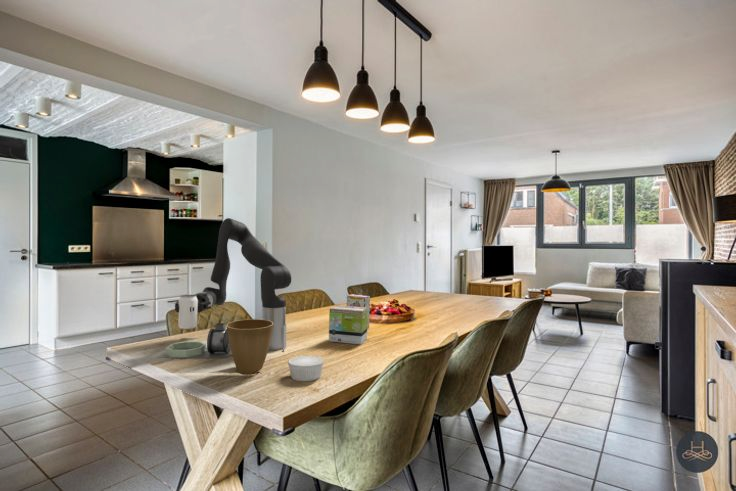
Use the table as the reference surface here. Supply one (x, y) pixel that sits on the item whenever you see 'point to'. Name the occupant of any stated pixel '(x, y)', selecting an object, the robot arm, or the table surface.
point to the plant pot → (249, 343)
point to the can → (188, 312)
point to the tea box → (348, 324)
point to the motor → (218, 339)
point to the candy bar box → (359, 303)
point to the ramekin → (305, 368)
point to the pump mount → (191, 351)
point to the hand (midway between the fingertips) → (183, 309)
